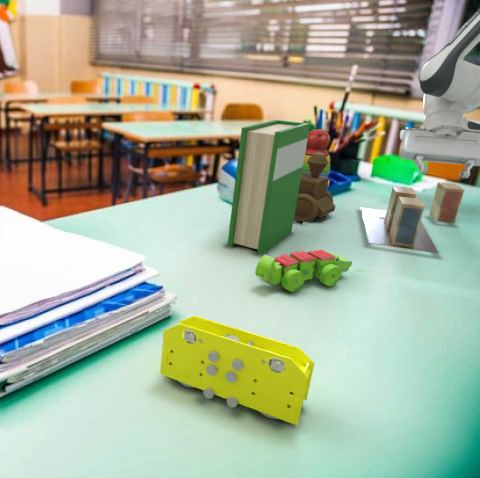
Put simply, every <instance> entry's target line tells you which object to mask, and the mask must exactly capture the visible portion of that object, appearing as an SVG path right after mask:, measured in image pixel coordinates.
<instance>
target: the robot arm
mask: <svg viewBox="0 0 480 478" xmlns="http://www.w3.org/2000/svg"><path fill="white" fill-rule="evenodd" d="M478 43H480V7H479V8H478V9H477V10H476V11H475V12H474V14H472V16H470V18H469V19H468V20H467V21H466V22H465V23H464V24H463V26H461V28H460V29H459V30H458V31H457V32H455V34H454V35H453V36H452V37H451V38H450V40H448V41H447V43H445V45H444V46H443V47H442V48H441V49H440V50H439V51H437V52H436V53H435V54H434V55H432V56H431V57H430V58H429V59H427V61H426V62H425V63H424V64H423V66H422V67H421V69H420V70H419V72H418V76H417V77H418V79H417V80H418V85H419V88H420V90H421V92H422V93H423V94H424V95H423V104H422V105H423V106H422V107H423V115H424V119H423V125H422V126H423V128H420V127H416V128H415V127H405V128H402V129H401V130H400V131H399V140H400V141H401V142H400V146H399V152H398V157H400V159H401V160H407V161H413V163H414V165H415V167H416V168H417V169H418V174H419V175H427V173H428V170H429V166H428V165H427V164H424V162H427V163H441V164H450V165H451V164H452V165H463V166H464V168H462V170H461V171H460V172H459V175H460V179H468V178H469V177H470V176H471V169H472V168H473V167H480V123H479V122H475V121H473V120H469V119H467V118H465V117H463V116H464V114H470V113H472V112H474V111H476V110H478V109H479V108H480V65H477V64H475V63H472V62H469V61H467V60H464V58H465V57H466V56H467V55H468V54H469V53H470V52H471V51H472V50H473V49H474V48H475V46H476V45H477V44H478Z"/></svg>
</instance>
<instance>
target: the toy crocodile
mask: <svg viewBox="0 0 480 478" xmlns="http://www.w3.org/2000/svg"><path fill="white" fill-rule="evenodd" d="M352 265H353V261H352V260H350V259H348V258H345V257H343V256H341V255H338V254H335V253H331V252H329V251H327V250H326V249H314V250H309V251H307V252H306V251H304V250H301V251H293V252H290V254H289V255H288V254H287V253H283V254H281V255H280V256H276V257H272V256H270V255H268V254H263V255H262V257H261V258H260V259H259V260H258V262H257V264H256V266H255V272H254V273H255V276H257V277H258V278H259V279H262V280H264V281H266V282H268V283H270V284H272V285H278V284H280V283H281V286H282V287H283V289H285V290H286V291H288V292H290V293H296V292H297V291H300V290H301V289H302V287H303V285H304V283H305V281H307V280H312V279H313V278H314V277H315V278H317V279H319V281H320V282H321V284H323V285H325V286H327V287H333V286H335V285H336V284H337V283H338V282H339V280H340V279H341V276H342V273H347V272H348V271H349V269H350V267H352Z"/></svg>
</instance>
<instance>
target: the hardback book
mask: <svg viewBox="0 0 480 478" xmlns="http://www.w3.org/2000/svg"><path fill="white" fill-rule="evenodd" d="M310 126H311V123H309V122H300V121H293V120H291V121H290V120H283V119H282V120H281V119H273V120H269V121H264V122H260V123H256V124H251V125H246V126H243V127H241V131H240V140H239V147H238V154H237V155H238V156H237V164H236V171H235V180H234V189H233V194H232V202H231V203H232V204H231V212H230V221H229V227H228V228H229V229H228V235H227V236H228V237H227V242H226V243H227V244H226V246H227V247H231V248H232V247H234V246H235V245H239V246H244V247H247V248H250V249H255V250H257V252H256V255H261V256H263V255H265V253H267V251H269V250H270V249H272V248H273V247H274V246H276V245H277V244H278V243H279V242H281V241H282V240H283V239H285V238H286V237H287V236H289V235H290V234H291V233H292V232H293V227H294V220H295V219H294V215H295V209H296V203H297V198H298V192H299V186H300V180H301V174H302V169H303V163H304V157H305V151H306V145H307V140H308V134H309V132H310V128H311V127H310Z"/></svg>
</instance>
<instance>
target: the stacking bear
mask: <svg viewBox="0 0 480 478" xmlns="http://www.w3.org/2000/svg"><path fill="white" fill-rule="evenodd" d="M330 141H331V136H330V134H329V132H327V131H326V130H323V129H322V128H319V129H317V128H316V129H312V130H309V134H308V140H307V145H306V151H305V157H304V163H303V169H302V172H303V173H308V174H311V172H310V168H309V165H308V161H307V160H308V159H309V158H310V157H311V156H312V155H313V154H314V153H324V154H325V156H326V158H327V160H328V164H327V165H326V167H325V168H324V170H323V171H322V173H321V174H320V175H319V176H322V177H326V178H329V176H330V171H331V156H330V154H329V152H328V150H327V148H328V147H329V145H330Z"/></svg>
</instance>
